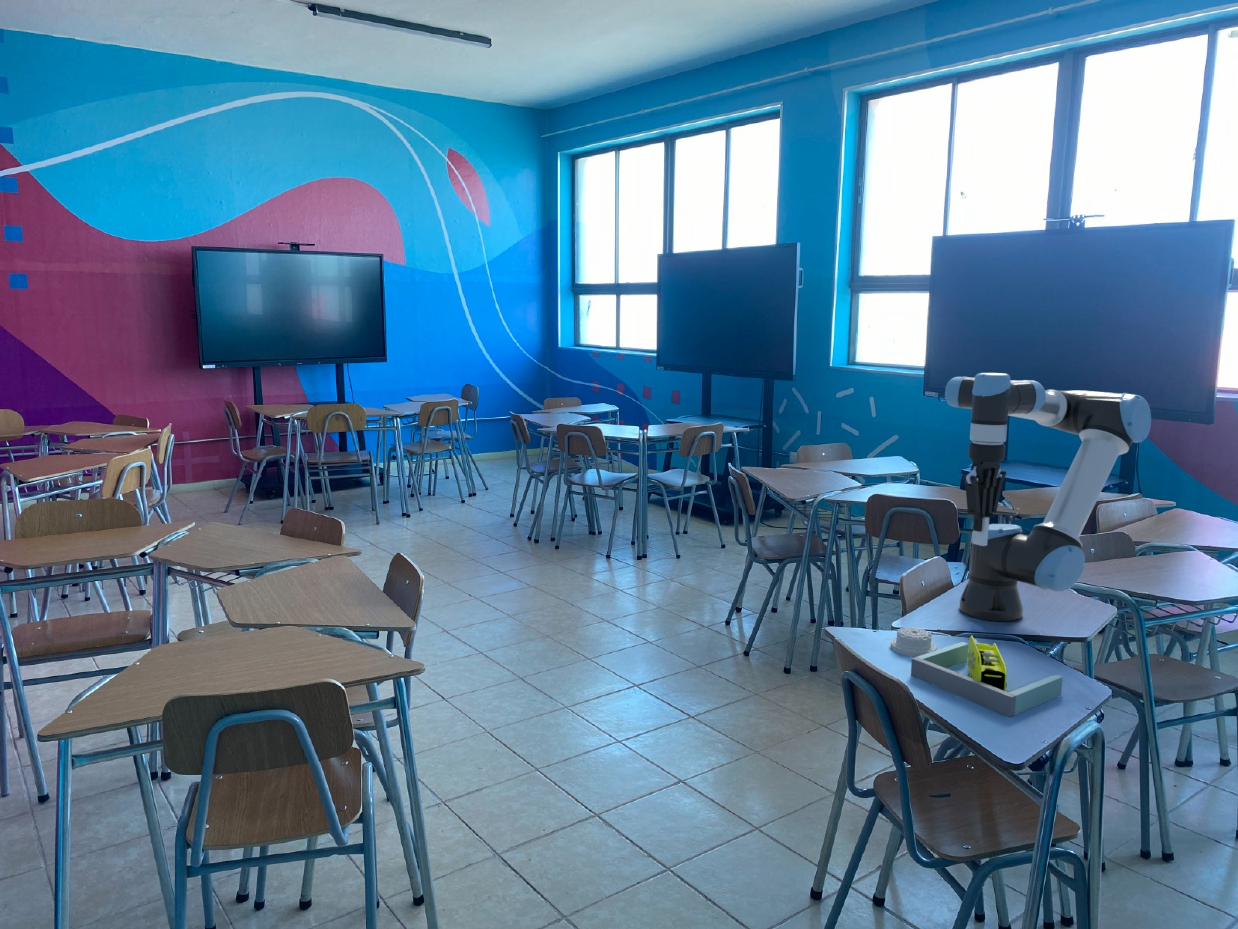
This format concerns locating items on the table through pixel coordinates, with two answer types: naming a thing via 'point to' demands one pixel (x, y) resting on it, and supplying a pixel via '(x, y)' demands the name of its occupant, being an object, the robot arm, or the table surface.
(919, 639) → the white cake
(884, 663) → the table surface
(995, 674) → the yellow toy chassis
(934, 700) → the table surface
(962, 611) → the robot arm
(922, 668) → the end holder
